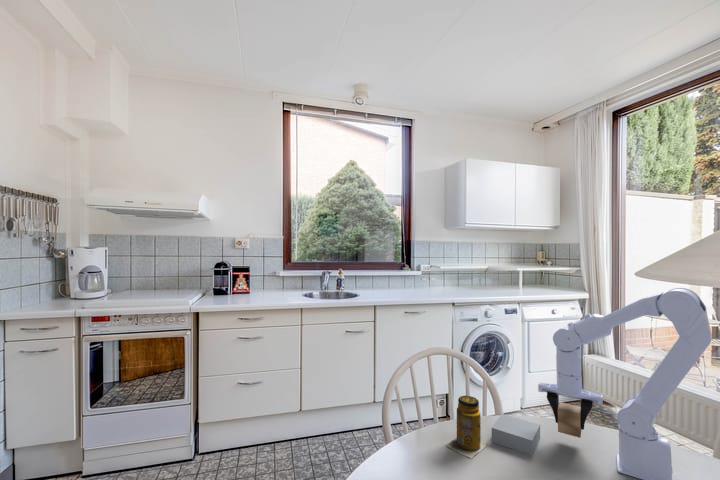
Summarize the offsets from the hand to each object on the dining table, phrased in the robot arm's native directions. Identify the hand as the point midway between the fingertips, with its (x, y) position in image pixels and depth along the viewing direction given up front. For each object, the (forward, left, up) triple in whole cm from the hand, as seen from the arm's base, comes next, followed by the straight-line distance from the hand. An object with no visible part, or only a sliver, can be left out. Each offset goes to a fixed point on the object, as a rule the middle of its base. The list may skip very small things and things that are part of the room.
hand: (569, 424), depth 90 cm
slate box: (+12, +6, -6) cm, 15 cm away
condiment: (+22, +17, -6) cm, 28 cm away
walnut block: (0, 0, -2) cm, 2 cm away
